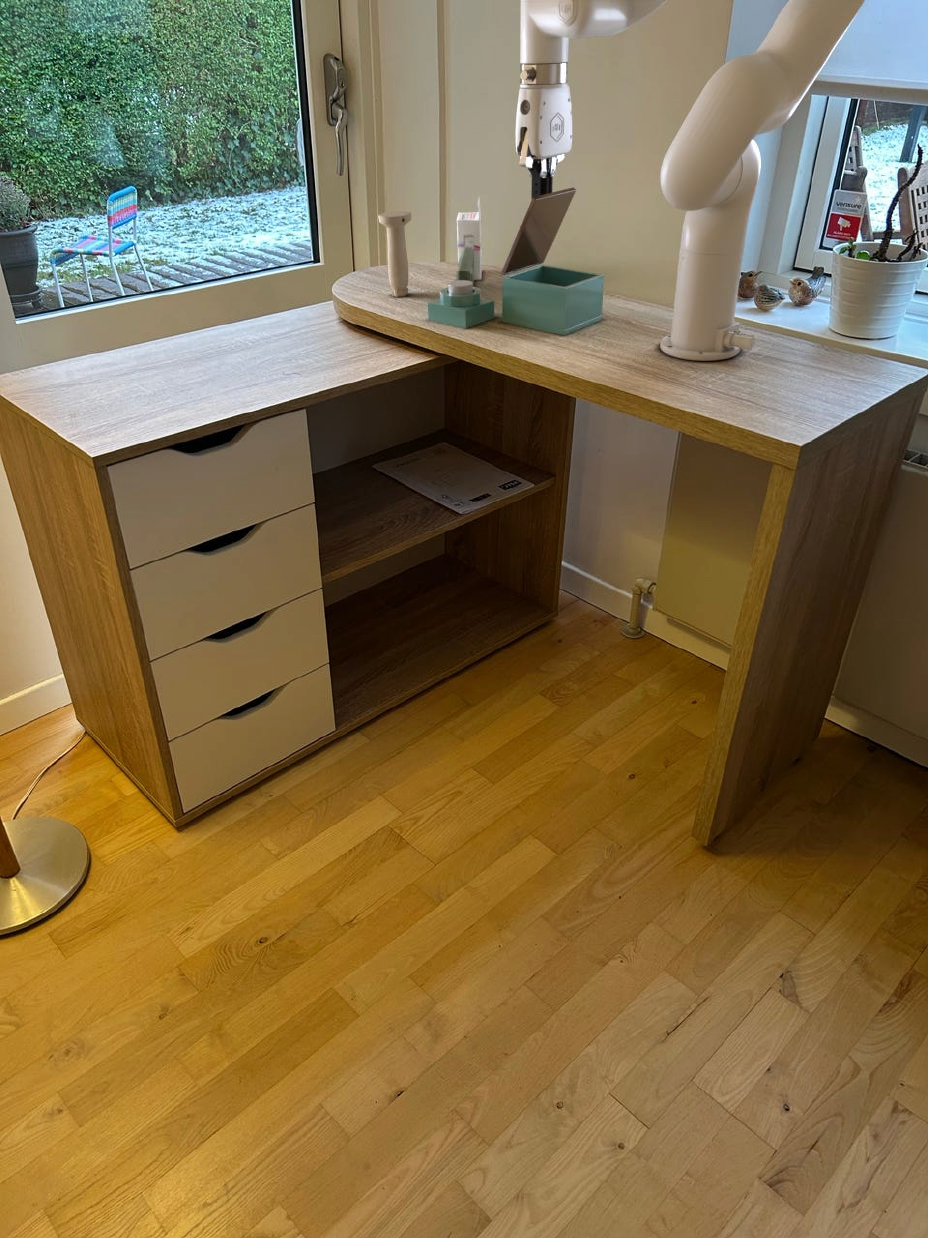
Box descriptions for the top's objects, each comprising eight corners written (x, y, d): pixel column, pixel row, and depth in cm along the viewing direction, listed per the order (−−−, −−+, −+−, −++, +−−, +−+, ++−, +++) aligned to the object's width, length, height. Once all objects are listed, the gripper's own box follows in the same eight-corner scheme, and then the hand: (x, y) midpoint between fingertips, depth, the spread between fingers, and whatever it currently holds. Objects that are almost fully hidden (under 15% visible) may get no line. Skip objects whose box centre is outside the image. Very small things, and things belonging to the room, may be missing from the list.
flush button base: (494, 318, 166) (494, 289, 163) (465, 328, 161) (465, 299, 158) (457, 310, 171) (456, 282, 168) (428, 320, 166) (427, 291, 163)
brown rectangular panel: (576, 189, 155) (573, 186, 155) (535, 199, 148) (532, 196, 148) (543, 262, 166) (540, 260, 166) (503, 275, 159) (500, 272, 159)
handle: (419, 294, 181) (415, 212, 173) (395, 300, 177) (390, 217, 169) (404, 290, 184) (399, 209, 176) (379, 296, 180) (373, 214, 172)
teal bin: (601, 319, 163) (604, 274, 159) (564, 335, 156) (565, 288, 152) (540, 307, 171) (541, 264, 166) (502, 322, 163) (502, 276, 159)
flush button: (478, 292, 163) (477, 282, 162) (462, 297, 160) (461, 287, 160) (459, 288, 166) (459, 278, 165) (443, 293, 163) (443, 283, 162)
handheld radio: (454, 306, 173) (461, 274, 193) (471, 307, 173) (476, 275, 193) (454, 269, 169) (461, 241, 190) (472, 270, 169) (477, 241, 190)
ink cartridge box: (459, 270, 196) (457, 195, 188) (482, 270, 196) (481, 195, 188) (457, 280, 189) (455, 203, 181) (481, 279, 189) (480, 202, 180)
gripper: (534, 79, 137) (532, 211, 147) (590, 73, 147) (585, 197, 157) (495, 79, 141) (496, 207, 152) (552, 73, 151) (549, 194, 161)
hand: (541, 201), depth 154 cm, fingers closed
